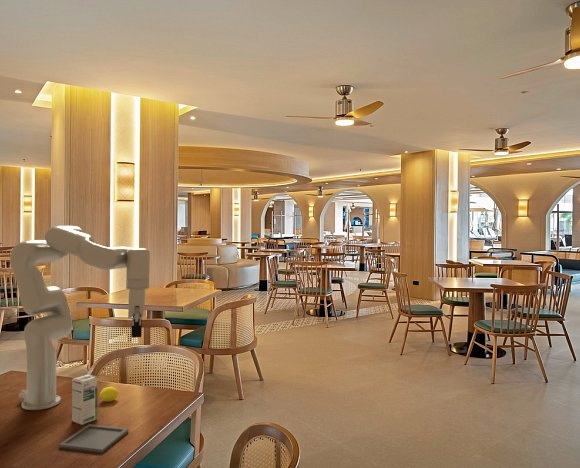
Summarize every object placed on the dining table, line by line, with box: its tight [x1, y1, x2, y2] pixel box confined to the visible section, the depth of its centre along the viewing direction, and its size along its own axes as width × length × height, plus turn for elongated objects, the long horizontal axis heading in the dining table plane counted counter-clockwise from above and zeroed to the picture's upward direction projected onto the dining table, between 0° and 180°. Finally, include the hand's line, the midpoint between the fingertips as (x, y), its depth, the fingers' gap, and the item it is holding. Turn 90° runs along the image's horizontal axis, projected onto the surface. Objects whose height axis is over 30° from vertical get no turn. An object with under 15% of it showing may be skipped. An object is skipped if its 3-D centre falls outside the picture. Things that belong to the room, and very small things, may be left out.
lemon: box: [98, 386, 119, 403], centre depth 169 cm, size 7×5×5 cm
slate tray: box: [58, 423, 129, 454], centre depth 138 cm, size 14×14×1 cm
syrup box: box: [71, 373, 98, 426], centre depth 152 cm, size 6×6×14 cm
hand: (136, 333), depth 156 cm, fingers open, 9 cm apart
